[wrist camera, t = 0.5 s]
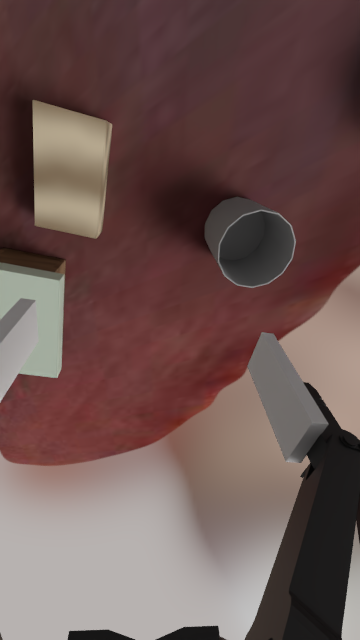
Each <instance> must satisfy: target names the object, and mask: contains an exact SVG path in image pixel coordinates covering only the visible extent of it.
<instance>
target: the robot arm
mask: <svg viewBox="0 0 360 640" xmlns="http://www.w3.org/2000/svg"><path fill="white" fill-rule="evenodd" d="M38 341H39V340H38V325H37V311H36V300H31V299H24V298H20V299H19V300H18V301H17V302H16V304H15V305H14V306H13V307H12V308H11V309H10V310H9V311H8V312H7V313H6V314H5V315H4V316H3V318H2V319H1V320H0V402H1V400H2V398H3V397H4V395H5V394H6V392H7V390H8V389H9V387H10V386H11V384H12V383H13V381H14V379H15V378H16V376H17V375H18V373H19V371H20V370H21V368H22V367H23V365H24V363H25V362H26V360H27V359H28V357H29V356H30V354H31V352H32V351H33V349H34V348H35V346H36V344H37V343H38ZM248 369H249V371H250V374H251V376H252V379H253V381H254V384H255V386H256V389H257V391H258V394H259V396H260V398H261V401H262V404H263V406H264V408H265V411H266V413H267V416H268V418H269V421H270V423H271V426H272V428H273V430H274V433H275V436H276V438H277V441H278V443H279V445H280V448H281V451H282V453H283V456H284V458H285V461H286V462H298V463H301V462H302V461H303V459H304V458H305V456H306V455H307V456H308V458H309V460H310V462H311V463H310V464H309V465H308V467H307V468H306V469H305V471H304V472H303V473H302V475H301V477H302V478H303V477H304V478H303V481H302V484H301V487H300V490H299V493H298V496H297V498H296V502H295V504H294V507H293V510H292V513H291V516H290V519H289V522H288V525H287V528H286V530H285V533H284V537H283V539H282V542H281V545H280V548H279V551H278V554H277V557H276V560H275V563H274V566H273V568H272V571H271V574H270V577H269V580H268V583H267V586H266V589H265V592H264V595H263V598H262V601H261V604H260V606H259V609H258V612H257V615H256V618H255V621H254V622H253V625H252V627H251V629H250V631H249V632H248V634H247V635H246V638H245V640H342V638H341V633H342V623H343V617H344V609H345V601H346V593H347V586H348V578H349V571H350V563H351V555H352V547H353V539H354V532H355V525H356V521H357V528H358V535H359V542H360V440H359V439H357V437H356V436H354V435H353V434H351V433H350V432H348V431H346V430H342V429H341V427H340V426H339V424H338V423H337V421H336V420H335V418H334V417H333V415H332V413H331V412H330V410H329V409H328V407H326V404H325V403H324V401H323V400H322V398H321V396H320V395H319V393H318V392H317V390H316V389H315V388H313V387H312V386H311V385H310V384H309V383H305V382H303V381H302V380H301V378H300V376H299V375H298V373H297V372H296V370H295V368H294V367H293V365H292V363H291V362H290V360H289V359H288V357H287V355H286V354H285V352H284V350H283V349H282V347H281V345H280V344H279V342H278V341H277V339H276V337H275V336H274V334H271V333H264V332H262V333H261V336H260V338H259V340H258V343H257V345H256V347H255V350H254V352H253V354H252V357H251V359H250V361H249V364H248ZM0 640H2V637H1V634H0ZM68 640H135V639H132V638H129V637H127V636H124V635H121V634H118V633H115V632H113V631H110V630H86V631H69V635H68ZM156 640H226V639H224V638H222V637H220V636H219V629H218V626H202V627H183V628H181V629H179V630H176V631H174V632H172V633H170V634H167V635H165V636H163V637H161V638H159V639H156Z"/></svg>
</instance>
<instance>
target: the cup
mask: <svg viewBox="0 0 360 640" xmlns="http://www.w3.org/2000/svg"><path fill="white" fill-rule="evenodd" d="M205 240H206V242H207V245H208V247H209V249H210V251H211V253H212V254H213V256H214V258H215V260H216V262H217V264H218V265H219V267H220V269H221V271H222V273H223V274H224V276H225V277H226V278H228V279H229V280H230V281H232V282H233V283H234V284H236V285H238V286H244V287H250V288H253V287H257V286H261V285H265V284H269V283H270V282H271V281H273V280H274V279H276V278H277V277H278V276H280V275H281V274H283V272H284V271H285V269H286V268H287V266H288V265H289V263H290V262H291V260H292V259H293V254H294V248H295V243H296V240H295V236H294V233H293V229H292V226H291V224H290V223H289V222H288V221H287V220H285V219H284V218H283V217H282V216H281V215H280V214H279V213H277V212H275V211H273V210H271V209H269V208H267V207H265V206H262V205H260V204H258V203H256V202H254V201H252V200H249V199H245V198H240V197H234V198H231V199H227V200H223V201H222V202H221V203H220V204H218V205H217V206H216V207H215V208H214V209H213V210H211V212H210V214H209V217H208V219H207V221H206V223H205Z"/></svg>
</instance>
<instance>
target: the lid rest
mask: <svg viewBox="0 0 360 640" xmlns="http://www.w3.org/2000/svg"><path fill="white" fill-rule="evenodd" d="M111 132H112V124H111V123H109V122H108V121H106V120H102V119H99V118H95V117H92V116H88V115H85V114H81V113H78V112H74V111H71V110H67V109H64V108H60V107H57V106H53V105H50V104H46V103H43V102H39V101H36V100H33V151H34V202H35V226H39V227H43V228H48V229H53V230H58V231H62V232H67V233H72V234H77V235H81V236H86V237H91V238H95V239H96V238H97V237H98V236H99V234H100V233H101V232H102V226H103V216H104V205H105V195H106V184H107V174H108V164H109V153H110V143H111Z"/></svg>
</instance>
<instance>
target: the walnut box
mask: <svg viewBox="0 0 360 640" xmlns="http://www.w3.org/2000/svg"><path fill="white" fill-rule="evenodd" d="M0 262H1V263H7V264H12V265H17V266H23V267H28V268H34V269H39V270H44V271H50V272H55V273H60V274H65V263H66V260H65V259H59V258H54V257H49V256H44V255H39V254H34V253H29V252H24V251H18V250H13V249H8V248H2V249H0ZM64 292H65V276H64ZM63 320H64V306H63ZM62 342H63V335H62Z"/></svg>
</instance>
